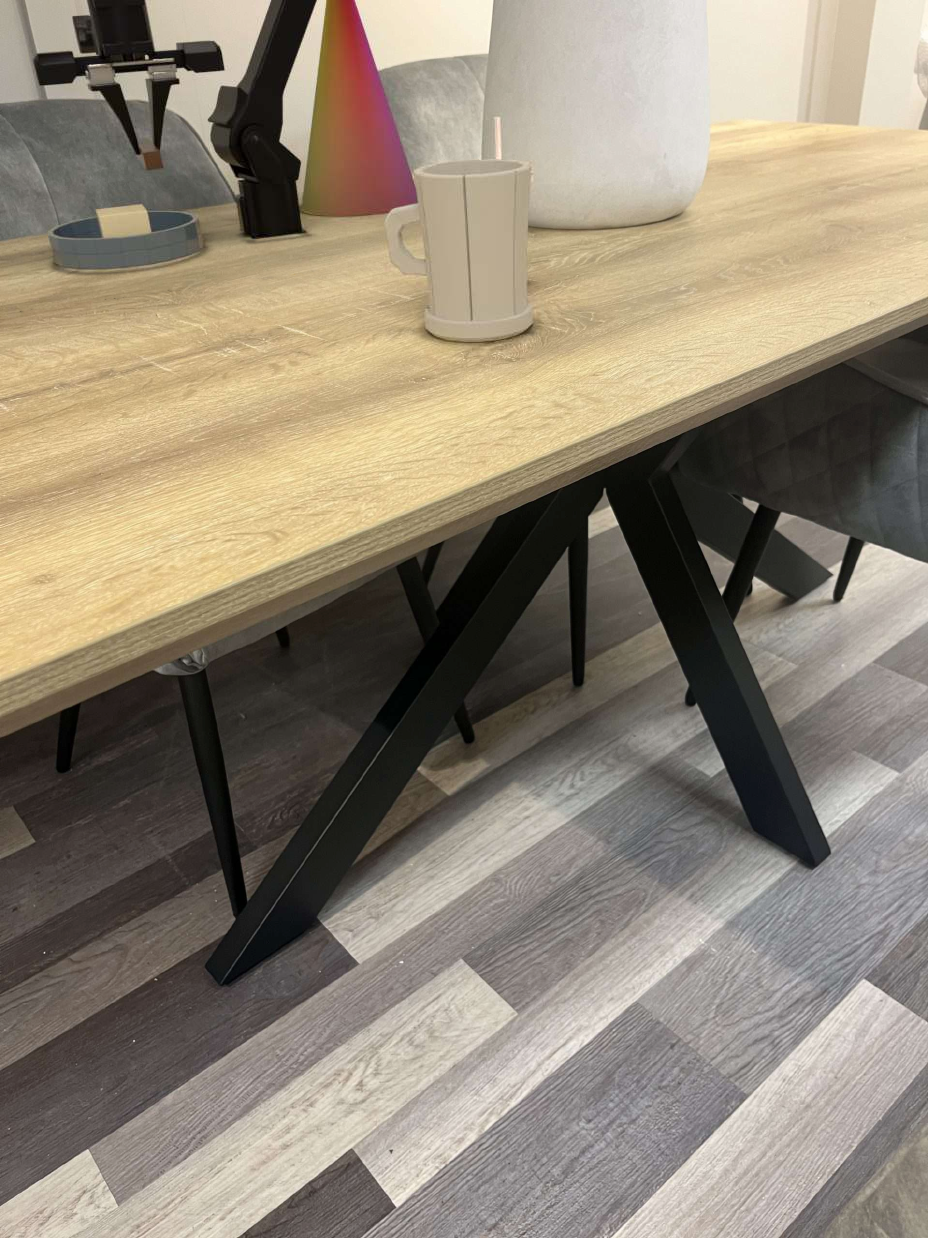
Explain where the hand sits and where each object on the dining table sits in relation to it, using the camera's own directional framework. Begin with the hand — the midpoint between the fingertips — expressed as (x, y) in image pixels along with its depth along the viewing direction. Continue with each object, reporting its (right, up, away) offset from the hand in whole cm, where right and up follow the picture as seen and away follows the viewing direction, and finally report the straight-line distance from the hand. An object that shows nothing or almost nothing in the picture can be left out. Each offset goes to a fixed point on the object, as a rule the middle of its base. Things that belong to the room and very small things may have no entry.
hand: (147, 153), depth 108 cm
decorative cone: (+20, +5, +26) cm, 34 cm away
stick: (0, -1, +1) cm, 1 cm away
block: (-2, -11, +1) cm, 11 cm away
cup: (+35, -27, -28) cm, 52 cm away
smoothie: (+38, -20, -16) cm, 46 cm away
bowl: (-3, -10, +4) cm, 11 cm away
